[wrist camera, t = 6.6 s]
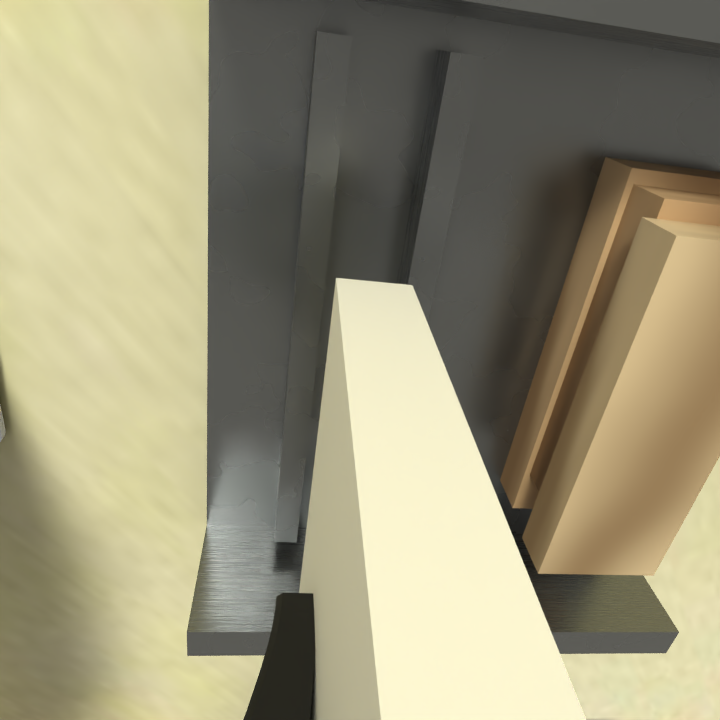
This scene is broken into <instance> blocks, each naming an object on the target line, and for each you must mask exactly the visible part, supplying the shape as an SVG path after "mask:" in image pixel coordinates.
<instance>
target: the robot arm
mask: <svg viewBox="0 0 720 720" xmlns="http://www.w3.org/2000/svg"><path fill="white" fill-rule="evenodd" d="M5 433H6V430H5V425H4V420H3V415H2V411H1V406H0V442H1V440H2V439H3V438H4V436H5ZM314 664H315V620H314V598H313V593H281V594H280V595H278V596H276V605H275V613H274V619H273V624H272V629H271V633H270V638H269V642H268V646H267V649H266V653H265V656H264V660H263V663H262V667H261V670H260V673H259V676H258V679H257V682H256V685H255V688H254V691H253V694H252V697H251V700H250V703H249V706H248V709H247V712H246V714H245V717H244V720H310V714H311V702H312V689H313V676H314Z"/></svg>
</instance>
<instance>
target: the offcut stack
mask: <svg viewBox="0 0 720 720" xmlns="http://www.w3.org/2000/svg"><path fill="white" fill-rule="evenodd" d="M719 456H720V172H715V171H708V170H700V169H692V168H685V167H677V166H670V165H662V164H654V163H647V162H639V161H631V160H624V159H616V158H608V157H605V160H604V163H603V166H602V169H601V172H600V175H599V178H598V181H597V184H596V188H595V191H594V194H593V197H592V200H591V203H590V206H589V209H588V212H587V215H586V218H585V221H584V224H583V227H582V230H581V234H580V237H579V240H578V243H577V246H576V249H575V252H574V255H573V258H572V261H571V264H570V267H569V270H568V273H567V276H566V279H565V283H564V286H563V289H562V292H561V295H560V298H559V301H558V304H557V307H556V310H555V313H554V316H553V319H552V322H551V325H550V328H549V332H548V335H547V338H546V341H545V344H544V347H543V350H542V353H541V356H540V359H539V362H538V365H537V368H536V371H535V374H534V377H533V381H532V384H531V387H530V390H529V393H528V396H527V399H526V402H525V405H524V408H523V411H522V414H521V417H520V420H519V423H518V427H517V430H516V433H515V436H514V439H513V442H512V445H511V448H510V451H509V454H508V457H507V460H506V463H505V466H504V469H503V472H502V476H501V479H500V481H501V483H502V486H503V488H504V490H505V492H506V495H507V497H508V499H509V501H510V503H511V506H512V508H526V509H532V512H531V515H530V518H529V520H528V523H527V526H526V528H525V531H524V534H523V536H522V539H523V541H524V543H525V545H526V548H527V550H528V552H529V554H530V557H531V559H532V561H533V563H534V566H535V568H536V570H537V573H538V574H589V575H651V576H654V574H655V572H656V570H657V568H658V567H659V565H660V563H661V561H662V559H663V557H664V556H665V554H666V552H667V550H668V548H669V547H670V545H671V543H672V541H673V539H674V538H675V536H676V534H677V532H678V530H679V529H680V527H681V525H682V523H683V521H684V520H685V518H686V516H687V514H688V512H689V510H690V509H691V507H692V505H693V503H694V501H695V500H696V498H697V496H698V494H699V492H700V491H701V489H702V487H703V485H704V483H705V482H706V480H707V478H708V476H709V474H710V473H711V471H712V469H713V467H714V465H715V464H716V462H717V460H718V458H719Z"/></svg>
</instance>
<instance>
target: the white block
mask: <svg viewBox="0 0 720 720" xmlns="http://www.w3.org/2000/svg"><path fill="white" fill-rule="evenodd" d="M299 593H313V598H314V620H315V664H314V676H313V689H312V702H311V714H310V720H586V718H585V715H584V713H583V710H582V708H581V705H580V703H579V700H578V698H577V695H576V693H575V690H574V688H573V685H572V683H571V680H570V678H569V675H568V673H567V670H566V668H565V665H564V663H563V660H562V658H561V655H560V653H559V650H558V648H557V645H556V643H555V640H554V638H553V635H552V633H551V630H550V628H549V625H548V623H547V620H546V618H545V615H544V613H543V610H542V608H541V605H540V603H539V600H538V598H537V595H536V593H535V590H534V588H533V585H532V583H531V580H530V578H529V575H528V573H527V570H526V568H525V565H524V563H523V560H522V558H521V555H520V553H519V550H518V548H517V545H516V543H515V540H514V538H513V535H512V533H511V530H510V528H509V525H508V523H507V520H506V518H505V515H504V513H503V510H502V508H501V505H500V503H499V500H498V498H497V495H496V493H495V490H494V488H493V485H492V483H491V480H490V478H489V475H488V473H487V470H486V468H485V465H484V463H483V460H482V458H481V455H480V453H479V450H478V448H477V445H476V443H475V440H474V438H473V435H472V433H471V430H470V428H469V425H468V423H467V420H466V418H465V415H464V413H463V410H462V408H461V405H460V403H459V400H458V398H457V395H456V393H455V390H454V388H453V385H452V383H451V380H450V378H449V375H448V373H447V370H446V368H445V365H444V363H443V360H442V358H441V355H440V353H439V350H438V348H437V345H436V343H435V340H434V338H433V335H432V333H431V330H430V328H429V325H428V323H427V320H426V318H425V315H424V313H423V310H422V308H421V305H420V303H419V300H418V298H417V295H416V293H415V290H414V288H413V285H406V284H395V283H385V282H374V281H364V280H353V279H343V278H336V282H335V291H334V299H333V308H332V316H331V325H330V333H329V342H328V350H327V359H326V367H325V376H324V384H323V393H322V401H321V410H320V418H319V427H318V435H317V444H316V452H315V461H314V469H313V478H312V486H311V495H310V503H309V511H308V520H307V528H306V537H305V545H304V554H303V562H302V571H301V579H300V588H299Z"/></svg>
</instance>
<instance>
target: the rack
mask: <svg viewBox="0 0 720 720" xmlns="http://www.w3.org/2000/svg"><path fill="white" fill-rule="evenodd" d="M605 157H608V158H616V159H624V160H631V161H639V162H647V163H654V164H662V165H670V166H677V167H685V168H692V169H700V170H708V171H715V172H720V0H209V151H208V387H207V527H206V533H205V538H204V543H203V549H202V554H201V560H200V565H199V570H198V576H197V581H196V586H195V592H194V597H193V602H192V608H191V613H190V619H189V624H188V629H187V655H188V656H220V655H265V653H266V649H267V646H268V642H269V638H270V633H271V629H272V624H273V619H274V613H275V605H276V596H278V595H280V594H281V593H299V588H300V579H301V571H302V562H303V554H304V545H305V537H306V528H307V520H308V511H309V503H310V495H311V486H312V478H313V469H314V461H315V452H316V444H317V435H318V427H319V418H320V410H321V401H322V393H323V384H324V376H325V367H326V359H327V350H328V342H329V333H330V325H331V316H332V308H333V299H334V291H335V282H336V278H343V279H353V280H364V281H374V282H385V283H395V284H406V285H413V288H414V290H415V293H416V295H417V298H418V300H419V303H420V305H421V308H422V310H423V313H424V315H425V318H426V320H427V323H428V325H429V328H430V330H431V333H432V335H433V338H434V340H435V343H436V345H437V348H438V350H439V353H440V355H441V358H442V360H443V363H444V365H445V368H446V370H447V373H448V375H449V378H450V380H451V383H452V385H453V388H454V390H455V393H456V395H457V398H458V400H459V403H460V405H461V408H462V410H463V413H464V415H465V418H466V420H467V423H468V425H469V428H470V430H471V433H472V435H473V438H474V440H475V443H476V445H477V448H478V450H479V453H480V455H481V458H482V460H483V463H484V465H485V468H486V470H487V473H488V475H489V478H490V480H491V483H492V485H493V488H494V490H495V493H496V495H497V498H498V500H499V503H500V505H501V508H502V510H503V513H504V515H505V518H506V520H507V523H508V525H509V528H510V530H511V533H512V535H513V538H514V540H515V543H516V545H517V548H518V550H519V553H520V555H521V558H522V560H523V563H524V565H525V568H526V570H527V573H528V575H529V578H530V580H531V583H532V585H533V588H534V590H535V593H536V595H537V598H538V600H539V603H540V605H541V608H542V610H543V613H544V615H545V618H546V620H547V623H548V625H549V628H550V630H551V633H552V635H553V638H554V640H555V643H556V645H557V648H558V650H559V653H560V654H589V653H666V652H667V651H668V649H669V647H670V646H671V644H672V643H673V641H674V639H675V638H676V636H677V635H678V633H679V631H678V630H677V628H676V627H675V625H674V624H673V622H672V620H671V619H670V617H669V616H668V614H667V612H666V611H665V609H664V608H663V606H662V605H661V603H660V601H659V600H658V598H657V597H656V595H655V594H654V592H653V590H652V589H651V587H650V586H649V584H648V582H647V581H646V579H645V578H644V576H643V575H589V574H538V573H537V570H536V568H535V566H534V563H533V561H532V559H531V557H530V554H529V552H528V550H527V548H526V545H525V543H524V541H523V539H522V536H523V534H524V531H525V528H526V526H527V523H528V520H529V518H530V515H531V512H532V509H526V508H512V506H511V503H510V501H509V499H508V497H507V495H506V492H505V490H504V488H503V486H502V483H501V481H500V479H501V476H502V472H503V469H504V466H505V463H506V460H507V457H508V454H509V451H510V448H511V445H512V442H513V439H514V436H515V433H516V430H517V427H518V423H519V420H520V417H521V414H522V411H523V408H524V405H525V402H526V399H527V396H528V393H529V390H530V387H531V384H532V381H533V377H534V374H535V371H536V368H537V365H538V362H539V359H540V356H541V353H542V350H543V347H544V344H545V341H546V338H547V335H548V332H549V328H550V325H551V322H552V319H553V316H554V313H555V310H556V307H557V304H558V301H559V298H560V295H561V292H562V289H563V286H564V283H565V279H566V276H567V273H568V270H569V267H570V264H571V261H572V258H573V255H574V252H575V249H576V246H577V243H578V240H579V237H580V234H581V230H582V227H583V224H584V221H585V218H586V215H587V212H588V209H589V206H590V203H591V200H592V197H593V194H594V191H595V188H596V184H597V181H598V178H599V175H600V172H601V169H602V166H603V163H604V160H605Z"/></svg>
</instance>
